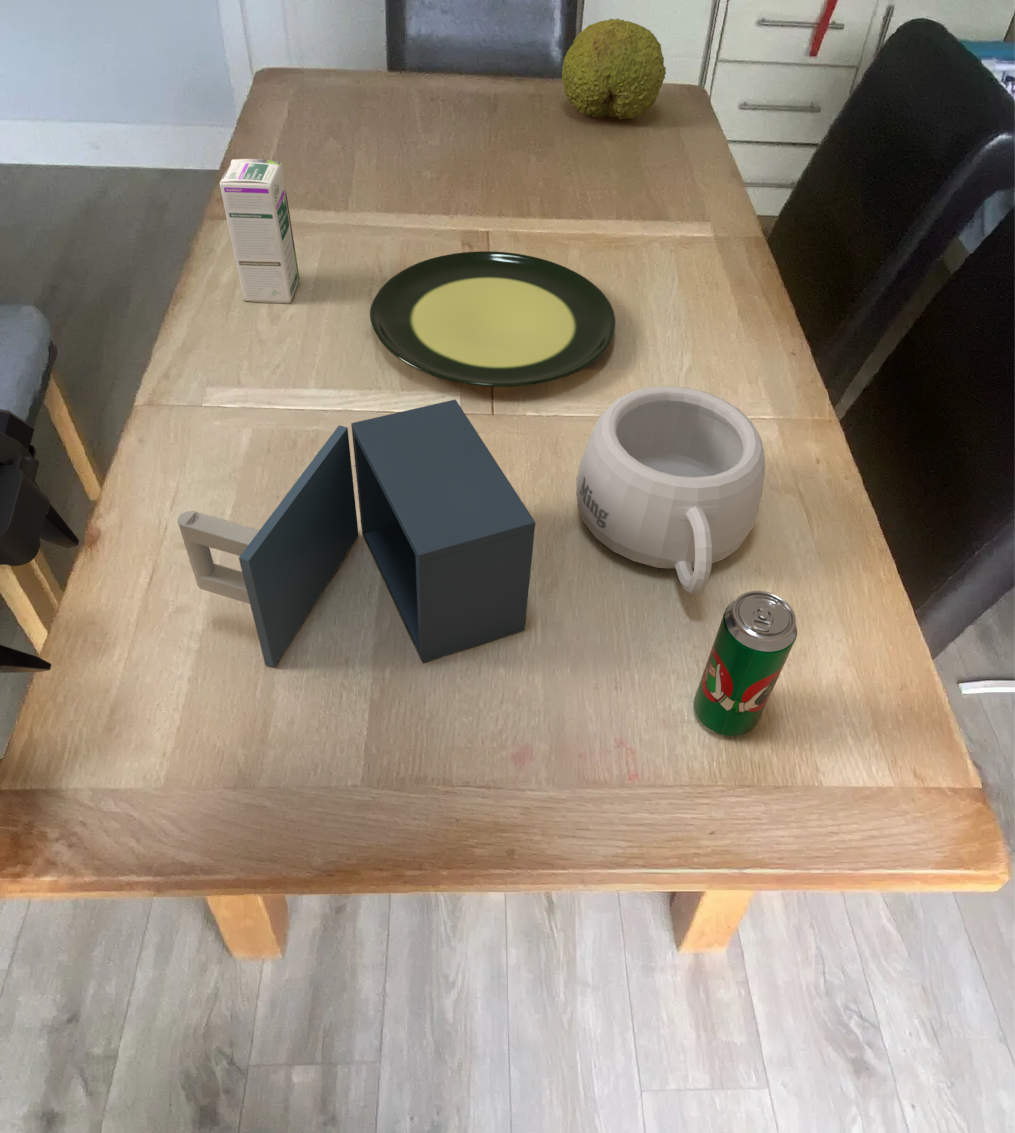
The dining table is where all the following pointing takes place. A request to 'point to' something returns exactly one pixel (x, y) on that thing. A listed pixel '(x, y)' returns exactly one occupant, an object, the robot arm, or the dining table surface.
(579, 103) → the fruit
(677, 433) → the mug
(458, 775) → the dining table surface
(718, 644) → the soda can
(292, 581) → the cabinet door
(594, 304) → the plate
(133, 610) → the dining table surface
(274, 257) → the syrup box
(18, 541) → the robot arm
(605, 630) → the dining table surface
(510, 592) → the cabinet
